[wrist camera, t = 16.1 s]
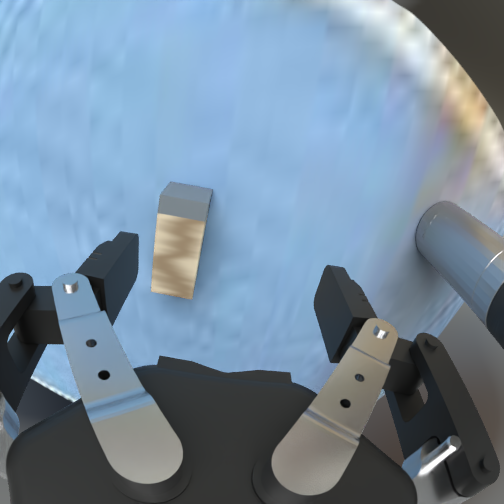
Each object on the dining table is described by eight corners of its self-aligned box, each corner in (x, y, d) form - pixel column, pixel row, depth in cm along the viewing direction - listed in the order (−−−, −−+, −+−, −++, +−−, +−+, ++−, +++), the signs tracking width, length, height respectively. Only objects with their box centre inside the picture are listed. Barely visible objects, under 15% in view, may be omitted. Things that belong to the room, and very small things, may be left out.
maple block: (151, 291, 34) (160, 194, 29) (159, 269, 38) (170, 181, 33) (192, 299, 35) (208, 203, 29) (196, 276, 39) (212, 189, 34)
